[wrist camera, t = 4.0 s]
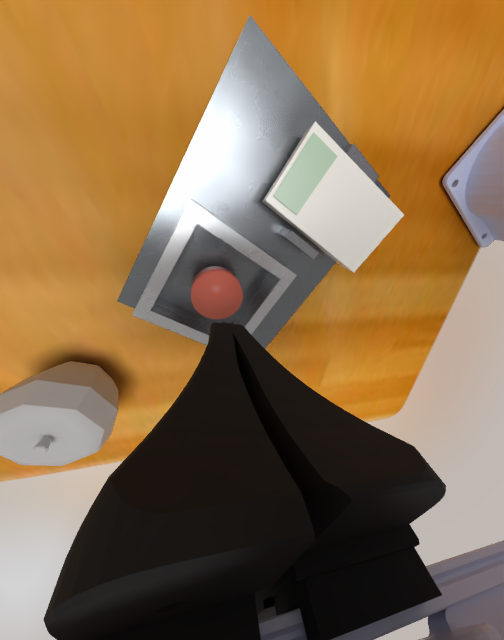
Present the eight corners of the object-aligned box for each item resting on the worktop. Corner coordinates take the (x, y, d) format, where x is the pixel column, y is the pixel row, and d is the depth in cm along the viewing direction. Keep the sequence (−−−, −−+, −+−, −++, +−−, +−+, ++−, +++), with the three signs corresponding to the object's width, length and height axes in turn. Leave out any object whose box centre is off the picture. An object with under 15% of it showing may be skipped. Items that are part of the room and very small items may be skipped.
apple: (60, 325, 17) (-7, 392, 11) (150, 370, 21) (132, 436, 15) (10, 384, 19) (-70, 467, 13) (102, 416, 23) (70, 489, 17)
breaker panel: (371, 195, 16) (414, 197, 13) (252, 345, 22) (261, 374, 18) (242, 40, 11) (260, -22, 8) (125, 289, 16) (106, 315, 13)
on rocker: (386, 214, 14) (406, 214, 12) (342, 267, 15) (355, 273, 14) (305, 132, 12) (316, 120, 10) (262, 201, 13) (266, 200, 11)
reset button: (249, 281, 15) (252, 288, 14) (224, 317, 16) (225, 326, 15) (207, 256, 13) (207, 261, 12) (182, 297, 14) (181, 305, 13)
